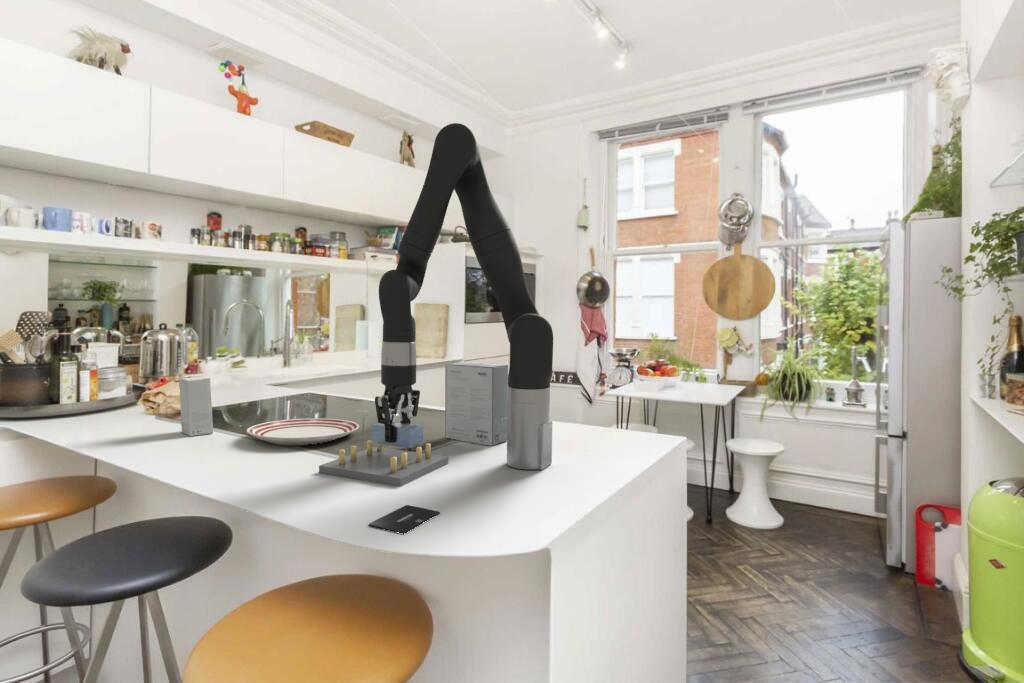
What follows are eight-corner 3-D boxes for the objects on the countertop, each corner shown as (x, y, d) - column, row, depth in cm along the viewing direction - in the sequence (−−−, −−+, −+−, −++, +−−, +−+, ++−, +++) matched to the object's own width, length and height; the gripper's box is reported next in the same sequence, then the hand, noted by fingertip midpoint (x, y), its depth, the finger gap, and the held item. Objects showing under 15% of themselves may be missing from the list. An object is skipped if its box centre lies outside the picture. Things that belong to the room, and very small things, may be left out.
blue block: (423, 443, 122) (423, 425, 122) (410, 448, 117) (410, 429, 117) (385, 438, 126) (385, 420, 126) (371, 442, 121) (371, 424, 121)
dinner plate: (284, 425, 160) (284, 413, 160) (374, 429, 157) (374, 418, 156) (222, 448, 133) (222, 434, 133) (329, 454, 129) (329, 440, 129)
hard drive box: (508, 441, 144) (509, 364, 143) (492, 447, 138) (493, 367, 137) (461, 433, 153) (462, 361, 152) (443, 438, 146) (444, 363, 145)
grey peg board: (448, 463, 122) (448, 443, 122) (400, 486, 106) (401, 463, 105) (374, 453, 130) (374, 433, 130) (319, 472, 114) (319, 451, 113)
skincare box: (213, 433, 147) (212, 378, 146) (187, 437, 143) (187, 379, 142) (204, 428, 153) (203, 375, 152) (179, 431, 149) (178, 376, 148)
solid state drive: (440, 515, 92) (441, 511, 92) (403, 537, 83) (403, 532, 83) (406, 508, 95) (406, 504, 95) (367, 528, 86) (367, 524, 86)
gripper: (393, 366, 113) (392, 448, 113) (431, 361, 126) (430, 435, 127) (363, 364, 116) (363, 444, 116) (403, 359, 129) (402, 431, 130)
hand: (397, 439), depth 122 cm, fingers closed on blue block, 5 cm apart
